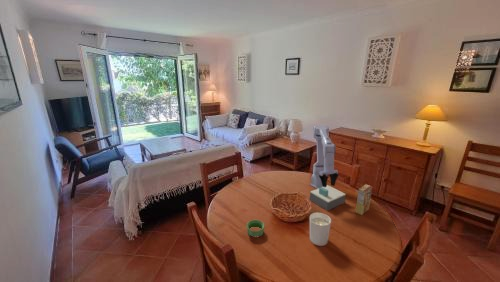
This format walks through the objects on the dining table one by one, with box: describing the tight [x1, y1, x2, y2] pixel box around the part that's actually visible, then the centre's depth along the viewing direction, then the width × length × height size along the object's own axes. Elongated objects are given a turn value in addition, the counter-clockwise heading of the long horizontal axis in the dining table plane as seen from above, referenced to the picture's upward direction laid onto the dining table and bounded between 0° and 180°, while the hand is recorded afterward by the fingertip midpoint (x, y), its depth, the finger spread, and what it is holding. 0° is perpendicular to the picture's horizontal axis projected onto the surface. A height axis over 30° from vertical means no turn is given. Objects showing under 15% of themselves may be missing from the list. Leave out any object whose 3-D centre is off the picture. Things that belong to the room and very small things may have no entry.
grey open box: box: [309, 192, 346, 212], centre depth 136 cm, size 14×16×5 cm
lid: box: [309, 184, 347, 203], centre depth 135 cm, size 14×16×4 cm
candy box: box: [355, 183, 373, 216], centre depth 124 cm, size 9×4×15 cm, turn 129°
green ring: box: [246, 219, 265, 238], centre depth 110 cm, size 9×9×4 cm
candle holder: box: [309, 212, 332, 247], centre depth 103 cm, size 10×10×12 cm
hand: (328, 186), depth 131 cm, fingers open, 7 cm apart
